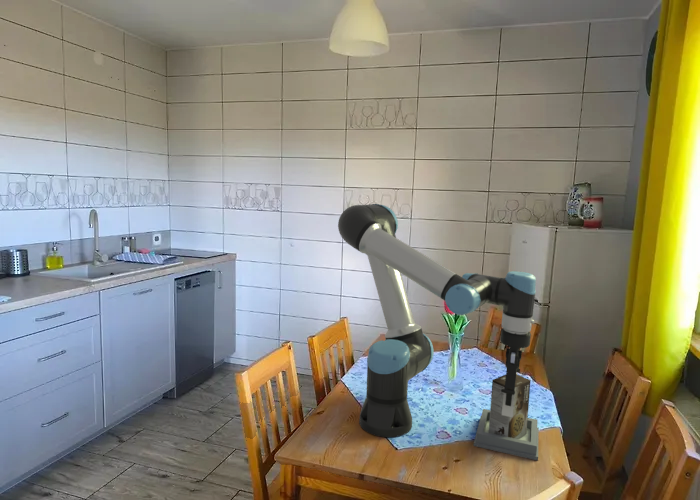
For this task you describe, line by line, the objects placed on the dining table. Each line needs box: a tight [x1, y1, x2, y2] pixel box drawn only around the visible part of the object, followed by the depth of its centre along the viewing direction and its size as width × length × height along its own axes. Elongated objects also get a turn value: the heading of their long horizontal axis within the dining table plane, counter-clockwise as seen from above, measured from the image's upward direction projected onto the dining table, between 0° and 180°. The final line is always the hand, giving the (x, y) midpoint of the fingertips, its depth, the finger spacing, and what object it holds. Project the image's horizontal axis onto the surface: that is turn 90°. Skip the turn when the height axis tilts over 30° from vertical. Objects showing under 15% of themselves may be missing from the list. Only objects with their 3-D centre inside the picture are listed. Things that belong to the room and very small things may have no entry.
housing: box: [473, 408, 540, 461], centre depth 129 cm, size 16×16×4 cm
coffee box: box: [489, 373, 531, 439], centre depth 128 cm, size 9×6×16 cm
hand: (508, 404), depth 128 cm, fingers open, 13 cm apart
